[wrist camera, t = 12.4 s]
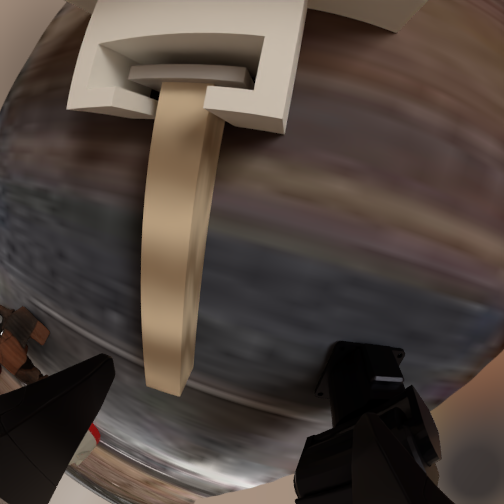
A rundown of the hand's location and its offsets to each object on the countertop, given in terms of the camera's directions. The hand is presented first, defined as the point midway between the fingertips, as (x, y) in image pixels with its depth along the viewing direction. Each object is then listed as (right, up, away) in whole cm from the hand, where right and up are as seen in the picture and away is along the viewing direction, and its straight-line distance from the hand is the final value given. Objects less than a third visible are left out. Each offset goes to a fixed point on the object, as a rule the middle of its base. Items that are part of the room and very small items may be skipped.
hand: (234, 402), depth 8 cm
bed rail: (-4, +5, +12) cm, 13 cm away
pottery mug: (-29, -5, +19) cm, 35 cm away
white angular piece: (-2, +18, +7) cm, 19 cm away
